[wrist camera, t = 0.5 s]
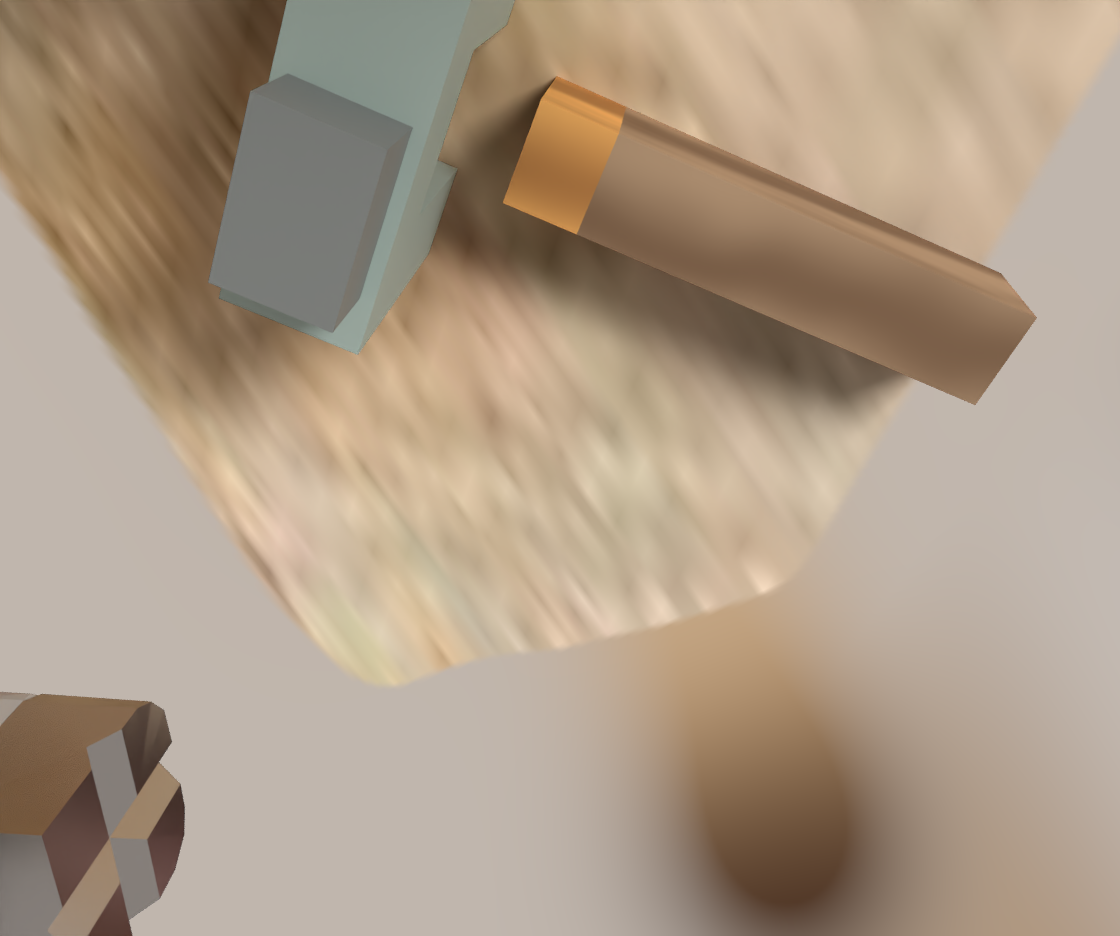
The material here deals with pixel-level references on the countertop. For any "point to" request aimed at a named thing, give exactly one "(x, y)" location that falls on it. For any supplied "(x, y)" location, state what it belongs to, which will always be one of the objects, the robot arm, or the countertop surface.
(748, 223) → the bar
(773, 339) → the countertop surface
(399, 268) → the grey-green arch block
